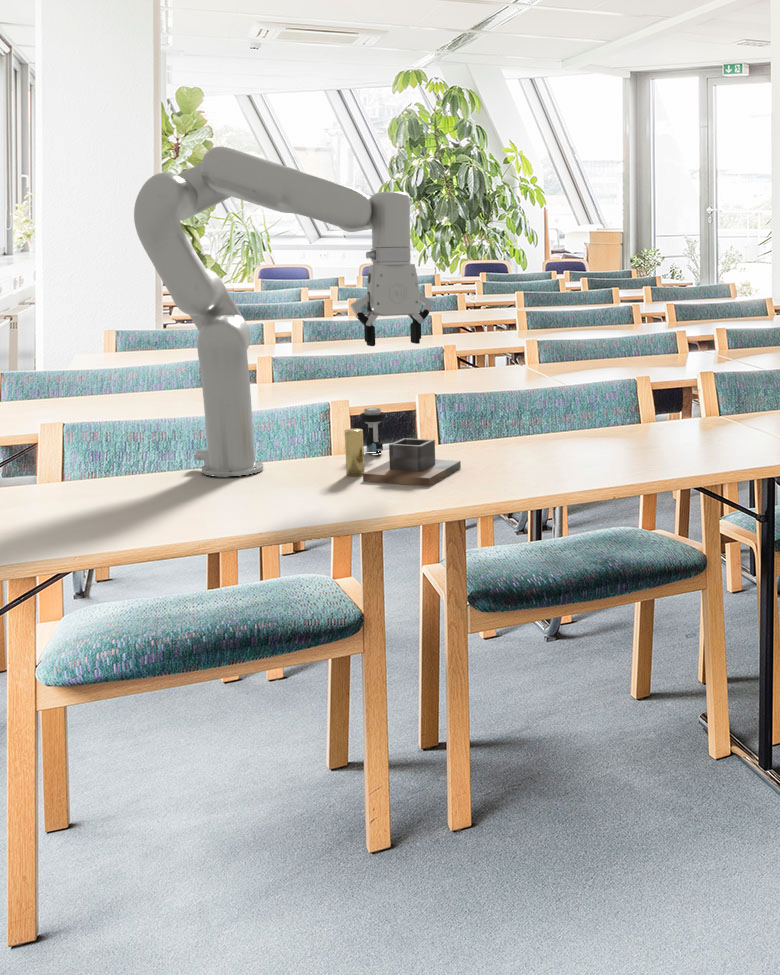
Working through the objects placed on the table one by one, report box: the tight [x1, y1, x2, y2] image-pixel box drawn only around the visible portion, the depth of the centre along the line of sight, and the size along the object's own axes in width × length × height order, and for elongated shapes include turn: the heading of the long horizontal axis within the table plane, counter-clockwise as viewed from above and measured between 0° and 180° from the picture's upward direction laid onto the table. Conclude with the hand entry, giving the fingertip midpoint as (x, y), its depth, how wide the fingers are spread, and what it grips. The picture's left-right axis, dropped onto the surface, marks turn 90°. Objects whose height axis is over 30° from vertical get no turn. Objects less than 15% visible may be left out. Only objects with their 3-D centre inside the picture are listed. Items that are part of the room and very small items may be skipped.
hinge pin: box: [344, 428, 365, 478], centre depth 185 cm, size 4×4×9 cm
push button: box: [359, 407, 385, 456], centre depth 204 cm, size 7×5×10 cm
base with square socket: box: [362, 437, 461, 487], centre depth 184 cm, size 14×16×6 cm
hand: (393, 344), depth 189 cm, fingers open, 9 cm apart
